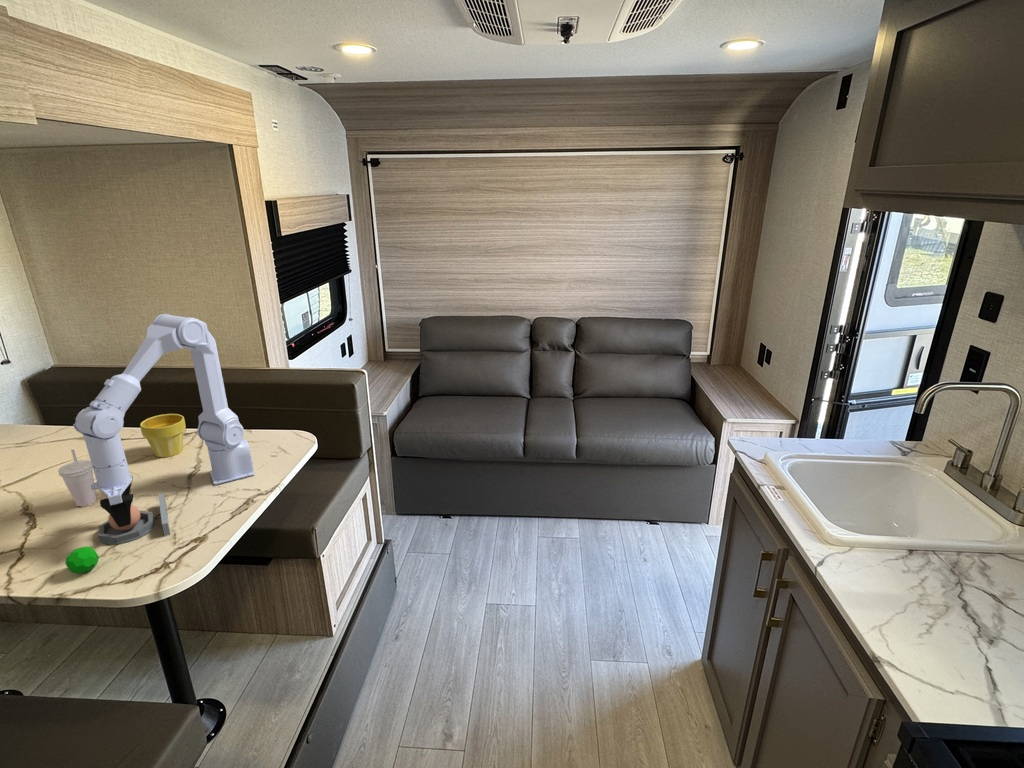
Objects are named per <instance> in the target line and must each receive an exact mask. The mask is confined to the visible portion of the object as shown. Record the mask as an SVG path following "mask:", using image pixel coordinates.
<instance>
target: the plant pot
mask: <svg viewBox="0 0 1024 768" xmlns="http://www.w3.org/2000/svg"><path fill="white" fill-rule="evenodd" d="M186 427H187V426H186V421H185V417H184V416H183V415H181V414H178V413H167V414H165V413H164V414H159V415H154V416H152V417H147V418H146V419H145V420H143V421H141V422H140V424H139V428H140V431H141V434H142V437H143V438H145V439H146V440H147V442H148V444H149V446H150V448H151V450H152V451H153V453H154V456H155V457H158V458H168V457H170V458H171V457H173V456H176V455H178V454H180V453H181V452H182V451H183V449H184V448H183V447H184V446H183V445H184V432H185V430H186Z"/></svg>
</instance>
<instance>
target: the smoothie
mask: <svg viewBox="0 0 1024 768" xmlns="http://www.w3.org/2000/svg"><path fill="white" fill-rule="evenodd" d="M70 452H71V455H72V458H73V462H69V463H67V464H66V463H65V464H64V465H62V466H60V468H59V469H58V470H57V471H58V475H59V476H60V477H62V479H63V481H64V484H65V485H66V487H67V489H68V491H69V493H70V496H71V497H72V499H73V501H74V503H75V505H76V507H78V506H85V507H88V506H91V505H93V504H94V503H96V502H97V497H96V496H97V495H96V490H91V484H92V483H95V479H94V470H93V467H92V463H91V460H87V459H83V460H78V459H77V454H76V451H75V449H71V450H70ZM95 501H96V502H95ZM92 503H93V504H92ZM90 504H91V505H90ZM87 505H88V506H87Z"/></svg>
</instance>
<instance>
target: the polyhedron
mask: <svg viewBox="0 0 1024 768" xmlns="http://www.w3.org/2000/svg"><path fill="white" fill-rule="evenodd" d="M99 559H100V556H99V555H98V553H97V551H96V550H95V549H94V548H93V547H90V546H83V547H82V546H81V547H77V548H75V549H74V550H73V551H72V552H70V553H69V554H68V556H66V559H65V563H64V564H65V565H66V566H65V567H67V568H68V570H69V571H70V573H72V574H76V575H79V574H84V573H88V572H90V571H92V569H94V568H95V567H96V566H97V565H98V563H99Z"/></svg>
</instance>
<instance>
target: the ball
mask: <svg viewBox="0 0 1024 768" xmlns="http://www.w3.org/2000/svg"><path fill="white" fill-rule="evenodd" d="M130 511H131V524H130V525H126V526H123V527H118V525H117V524H116V523H115V521H114V519H113V518H112V516H111V515H110V514H109V516H108V520H109V524H110V525H111V526H112V527H113V528H114V529H116V530H120V531H125V530H129V529H131V528H133V527H134V526H136V525H137V523H138V522H139V520H140V511H141V510H140V509H139V508H138V507H137V506H135V505H134V504H131V510H130Z"/></svg>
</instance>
